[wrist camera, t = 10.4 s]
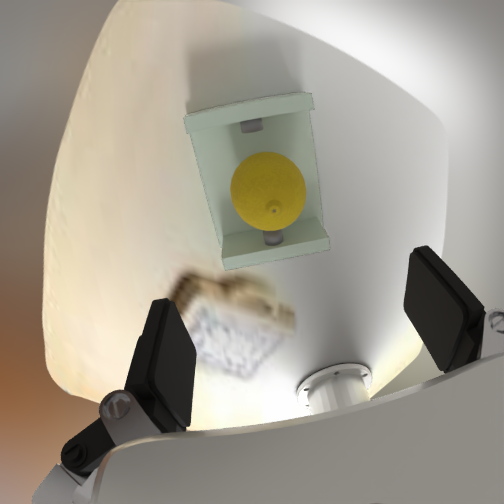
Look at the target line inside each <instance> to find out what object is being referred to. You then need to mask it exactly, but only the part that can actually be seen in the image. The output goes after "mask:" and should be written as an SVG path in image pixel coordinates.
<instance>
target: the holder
mask: <svg viewBox="0 0 504 504" xmlns="http://www.w3.org/2000/svg"><path fill="white" fill-rule="evenodd" d="M309 110H314V103H313V97H312V93H306V92H298V93H290V94H283V95H277V96H270V97H264V98H258V99H253V100H248V101H242V102H237V103H233V104H228V105H223V106H219V107H214V108H210V109H206V110H202V111H198V112H194V113H190V114H187V115H185V117H184V118H183V119H184V123H185V127H186V131H187V134H189V133H190V137H191V141H192V144H193V148H194V152H195V156H196V160H197V164H198V167H199V171H200V175H201V179H202V182H203V186H204V190H205V194H206V197H207V201H208V205H209V208H210V212H211V215H212V219H213V223H214V226H215V230H216V233H217V237H218V240H219V244H220V247H221V248H222V262H223V265H224V269H225V271H226V270H232V269H237V268H242V267H247V266H252V265H257V264H262V263H267V262H272V261H277V260H282V259H287V258H292V257H297V256H302V255H307V254H312V253H317V252H322V251H327V250H330V242H329V236H328V235H327V233H326V231H325V230H324V228H323V218H322V208H321V198H320V189H319V180H318V172H317V164H316V156H315V149H314V142H313V135H312V128H311V122H310V115H309ZM260 152H275V153H278V154H281V155H284V156H285V157H287V158H288V159H290V160H291V161H293V162H294V164H295V165H296V166H297V167H298V168H299V170H300V171H301V173H302V176H303V178H304V180H305V185H306V201H305V205H304V208H303V210H302V212H301V214H300V215H299V217H298V218H297V219H296V220H295V221H294V222H293V223H292V224H290V225H289V226H287V227H285V228H283V229H279V230H276V231H265V230H259V229H257V228H255V227H252V226H250V225H249V224H248V223H246V222H245V221H244V220H243V219H242V218H241V217H240V215H239V214H238V213H237V212H236V210H235V208H234V205H233V203H232V200H231V193H230V186H231V179H232V176H233V174H234V172H235V169H236V168H237V167H238V166H239V164H240V163H241V162H242V161H243V160H245V159H246V158H247V157H249V156H251V155H253V154H256V153H260Z"/></svg>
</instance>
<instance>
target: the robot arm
mask: <svg viewBox="0 0 504 504" xmlns="http://www.w3.org/2000/svg"><path fill="white" fill-rule="evenodd" d="M404 311H405V313H406V314H407V316H408V318H409V319H410V321H411V322H412V324H413V326H414V327H415V329H416V331H417V332H418V334H419V336H420V337H421V339H422V341H423V342H424V344H425V346H426V347H427V349H428V351H429V352H430V354H431V356H432V358H433V359H434V361H435V363H436V365H437V367H438V368H439V370H440V371H444V373H445V374H444V375H441V376H439V377H436V378H434V379H431V380H428V381H426V382H423V383H421V384H418V385H415V386H412V387H410V388H407V389H404V390H401V391H398V392H395V393H392V394H389V395H386V396H383V397H379V398H376V399H373V400H370V398H369V395H368V392H367V390H368V388H369V387H370V385H371V383H372V375H371V372H370V371H369V369H368V368H367V367H365V366H363V365H360V364H349V363H348V364H340V365H335V366H331V367H328V368H325V369H323V370H321V371H318V372H317V373H315V374H313V375H311V376H310V377H308V378H307V379H306V380H305V381H304V382H303V383H302V384H301V385H300V386H299V388H298V391H297V398H298V402H299V403H300V404H301V405H302V406H303V407H305V408H308V409H310V414H311V415H310V416H305V417H300V418H294V419H289V420H283V421H277V422H271V423H265V424H258V425H250V426H242V427H233V428H223V429H213V430H201V431H186V427H189V426H190V423H191V412H192V399H193V387H194V376H195V366H196V349H195V346H194V344H193V342H192V340H191V338H190V336H189V334H188V331H187V329H186V327H185V325H184V323H183V321H182V319H181V316H180V314H179V312H178V310H177V307H176V305H175V303H174V302H173V301H169V299H168V298H164V299H158V300H153V302H152V304H151V307H150V310H149V313H148V317H147V320H146V323H145V326H144V330H143V333H142V335H141V336H140V337H139V339H138V341H137V344H136V348H135V351H134V355H133V358H132V362H131V365H130V369H129V372H128V376H127V380H126V384H125V387H124V390H115V391H113V392H111V393H109V394H108V395H106V396H105V397H104V398H103V400H102V401H101V403H100V406H99V414H100V418H98V419H97V420H96V421H95V422H93V423H92V424H90V425H89V426H88V427H87V428H85V429H84V430H82V431H81V432H80V433H78V434H77V435H76V436H74V437H73V438H72V439H70V440H69V441H68V442H67V443H66V444H65V445H64V447H63V449H62V452H61V461H62V463H61V464H60V465H59V464H56V465H55V466H54V467H53V469H52V470H51V471H50V473H49V474H48V475H47V476H46V478H45V479H44V480H43V482H42V483H41V484H40V486H39V487H38V488H37V490H36V491H35V492H34V495H33V497H32V504H504V310H503V309H491V310H490V311H488V312H487V313H486V312H485V311H484V306H483V305H482V304H481V302H480V301H479V300H478V299H477V298H476V296H475V295H474V294H473V293H472V292H471V291H470V290H469V289H468V287H467V286H466V285H465V284H464V283H463V282H462V281H461V280H460V278H459V277H458V276H457V275H456V274H455V273H454V272H453V271H452V270H451V269H450V268H449V267H448V266H447V265H446V263H445V262H444V261H443V260H442V259H441V258H440V257H439V256H438V255H437V254H436V253H435V252H434V251H433V250H432V249H431V248H430V247H429V246H427V245H425V246H421V247H417V248H414V250H413V252H412V253H411V254H410V258H409V267H408V275H407V283H406V290H405V297H404Z"/></svg>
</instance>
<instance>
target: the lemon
mask: <svg viewBox="0 0 504 504" xmlns="http://www.w3.org/2000/svg"><path fill="white" fill-rule="evenodd" d="M230 193H231V200H232V203H233V205H234V208H235V210H236V212H237V213H238V214H239V215H240V217H241V218H242V219H243V220H244V221H245V222H246V223H248V224H249V225H250V226H252V227H255V228H257V229H259V230H265V231H276V230H279V229H283V228H285V227H287V226H289V225H290V224H292V223H293V222H294V221H295V220H296V219H297V218H298V217H299V215H300V214H301V212H302V210H303V208H304V205H305V201H306V185H305V180H304V178H303V176H302V173H301V171H300V170H299V168H298V167H297V166H296V165H295V164H294V162H293V161H291V160H290V159H288V158H287V157H285V156H284V155H281V154H278V153H275V152H260V153H256V154H253V155H251V156H249V157H247V158H246V159H245V160H243V161H242V162H241V163H240V164H239V166H238V167H237V168H236V169H235V172H234V174H233V176H232V179H231V186H230Z"/></svg>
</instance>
